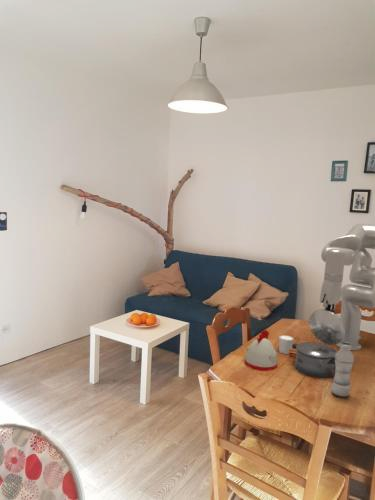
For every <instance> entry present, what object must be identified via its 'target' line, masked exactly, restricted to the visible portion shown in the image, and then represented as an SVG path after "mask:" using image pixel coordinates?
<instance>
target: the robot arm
mask: <svg viewBox="0 0 375 500" xmlns="http://www.w3.org/2000/svg"><path fill="white" fill-rule="evenodd" d="M367 249H368V250H369V249H371V250H375V224H368V223H366V224H364V223H357V224H355V225H354V226H353V227H352V228H351V229H350V230H349V231H348V232H347V234H346V235H343V236H339V237H337V238H334V239H331V240H330V241H328V242H327V243H326V244H325V246H324V247H323V249H322V251H321V255H320V257H321V260H322V262H324V263H325V266H324V275H323V282H322V284H321V285H322V286H321V289H320V296H319V302H320V303H322V307H324V309H326V310H329V311H331V312H333V313H335V310H336V306H337V305H338V303H340V302H341V305H340V306H341V308H340V316H339V318H340V319H341V321H342V323H343V325H344V327H345V337H344V339H343V340H342V341H341V342H347V343H350V344H351V350H350V351H359V350H361V349H362V345H361V344H360V343H359V340H361V339H362V337H361V336H360V330H361V322H362V310H361V309H360V306H361V307H366V308H371V309H374V308H375V267H372V262H373V258H372V256H371V253H370V252H369V251H368V250H367ZM345 266H347V267H348V266H351V269H350V272H349V277H348V278H349V279H348V280H349V281H350V282H351V283H353V284H345V285H343V279H344V278H343V277H344V270H345ZM342 285H343V286H342ZM341 342H340V343H341ZM340 343H339V344H336V345H335V346H336V347H337V348H340Z"/></svg>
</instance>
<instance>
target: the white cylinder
mask: <svg viewBox="0 0 375 500" xmlns="http://www.w3.org/2000/svg"><path fill="white" fill-rule="evenodd" d="M294 340H295V339H294V337H293V336H291V335H285V334H283V335H279V336H278V352H279V353H281V354H283V355H290V354H289V350H290V349H292V350H293V348H292V345H293V344H294Z"/></svg>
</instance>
